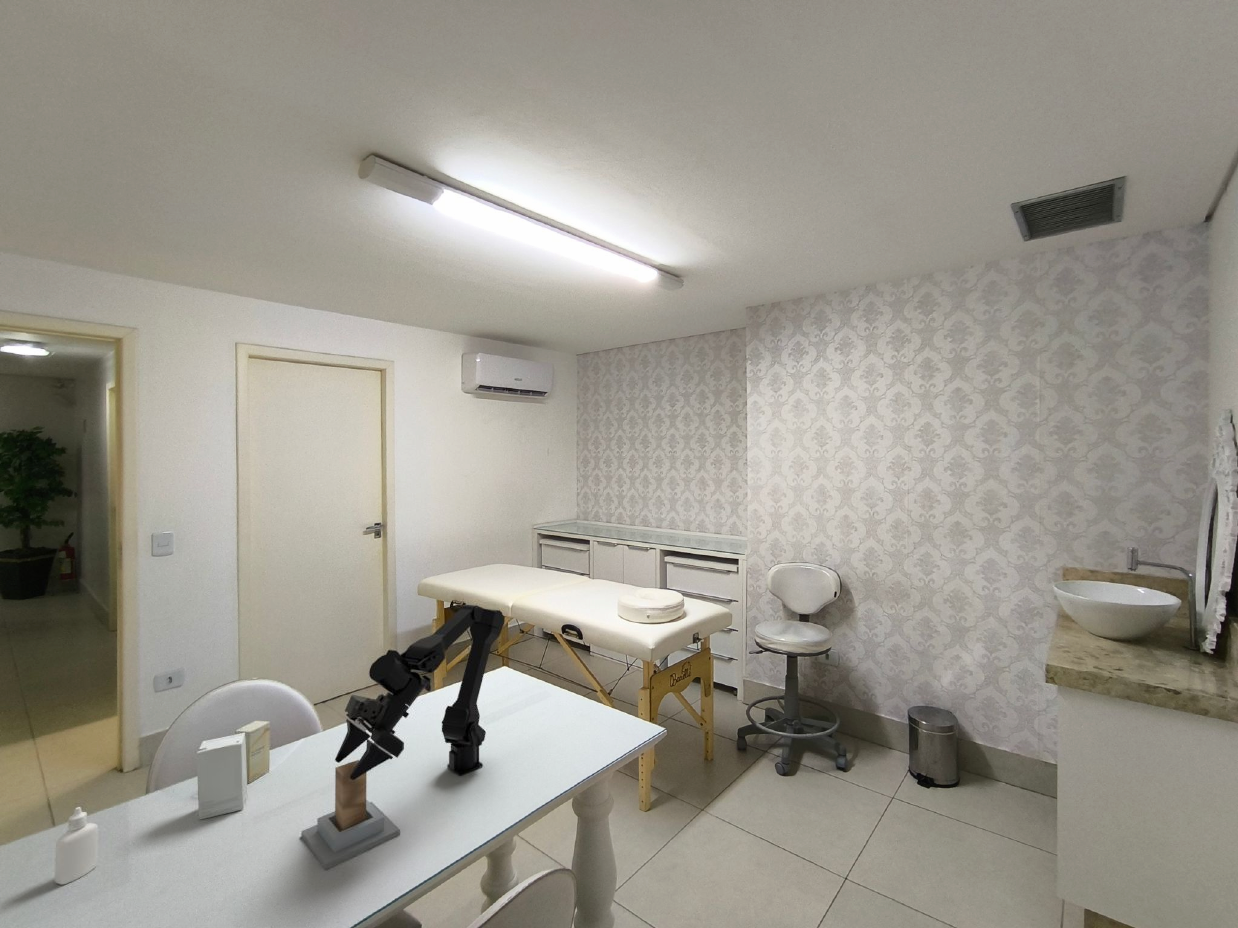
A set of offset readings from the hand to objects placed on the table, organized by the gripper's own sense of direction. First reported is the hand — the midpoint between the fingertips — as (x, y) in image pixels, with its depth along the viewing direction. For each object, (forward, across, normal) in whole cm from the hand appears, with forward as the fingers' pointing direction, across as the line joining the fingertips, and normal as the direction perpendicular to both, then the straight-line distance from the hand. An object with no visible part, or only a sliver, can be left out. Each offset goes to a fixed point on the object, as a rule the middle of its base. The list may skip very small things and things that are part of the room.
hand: (343, 769), depth 111 cm
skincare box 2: (+16, -41, +4) cm, 44 cm away
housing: (+9, 0, +11) cm, 14 cm away
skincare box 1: (+21, -29, -2) cm, 36 cm away
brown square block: (+8, 0, +10) cm, 13 cm away
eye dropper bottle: (+37, -23, -18) cm, 47 cm away
